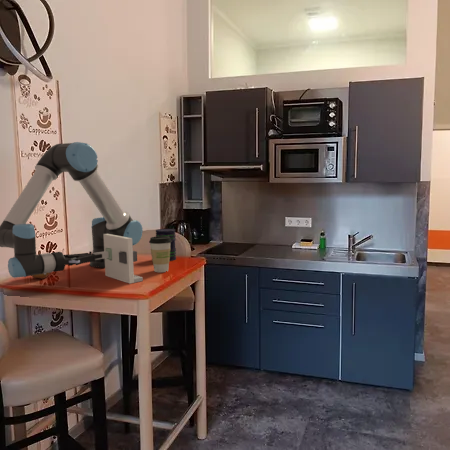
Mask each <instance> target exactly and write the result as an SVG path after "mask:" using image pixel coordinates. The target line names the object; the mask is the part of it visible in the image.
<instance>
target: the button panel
mask: <svg viewBox="0 0 450 450" xmlns="http://www.w3.org/2000/svg"><path fill="white" fill-rule="evenodd" d="M103 236H104V251H106V250H105V249H108V248H111V249H112V259H107V258H105V267H104V271H105V275H104V276H106V277H108V278H111V279H115V280H117V281H121V282H124V283H127V284H134V283H140V282H144V281H143V280H144V278H143V276H139V275H136V274H135V271H134V270H135V268H134V262H133V251H134V250H133V247H134V245H133V244H132V238H128V237H123V236H117V235H112V234H103ZM119 252H126V253H127V263H121V262H119Z"/></svg>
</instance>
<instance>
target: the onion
mask: <svg viewBox="0 0 450 450" xmlns="http://www.w3.org/2000/svg"><path fill="white" fill-rule="evenodd" d="M50 274H51V272H50V273H47V274H46V275H44V273H43V274H37V275H31V278H33V279H45V278H46V277H48V276H49V275H50Z"/></svg>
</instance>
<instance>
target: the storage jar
mask: <svg viewBox="0 0 450 450" xmlns="http://www.w3.org/2000/svg"><path fill="white" fill-rule="evenodd" d="M156 236H168V237H170V240H171V241H172V242H171V243H170V260H169V262H172V261H176V260H177V248H176V228H158V229H155V237H156Z"/></svg>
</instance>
